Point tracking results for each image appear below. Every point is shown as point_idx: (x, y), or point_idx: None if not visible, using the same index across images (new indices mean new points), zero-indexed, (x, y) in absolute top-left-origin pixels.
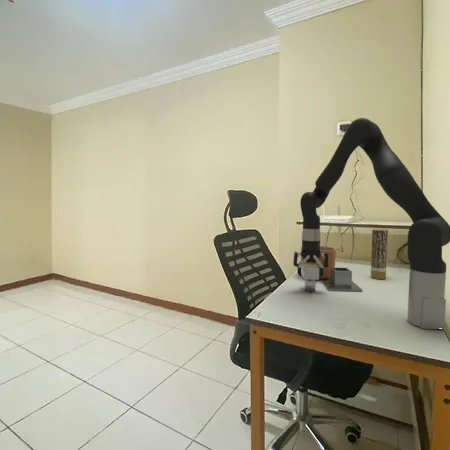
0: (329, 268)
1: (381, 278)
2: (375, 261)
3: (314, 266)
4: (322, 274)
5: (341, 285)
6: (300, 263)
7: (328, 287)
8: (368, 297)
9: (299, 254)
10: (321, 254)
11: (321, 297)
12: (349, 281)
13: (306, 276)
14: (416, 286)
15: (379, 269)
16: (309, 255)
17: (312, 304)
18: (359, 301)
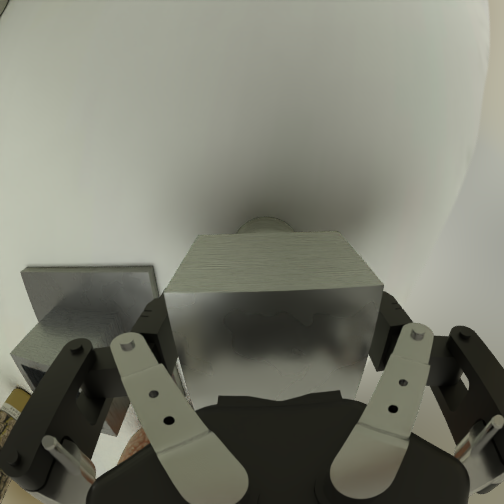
0: (136, 449)
1: (17, 389)
2: (8, 434)
3: (224, 363)
4: (154, 303)
5: (85, 313)
6: (425, 360)
7: (147, 294)
8: (11, 194)
9: (477, 464)
10: (84, 496)
11: (210, 130)
12: (46, 323)
13: (324, 240)
14: None
15: (9, 410)
16: (327, 501)
17: (287, 11)
18: (42, 122)
